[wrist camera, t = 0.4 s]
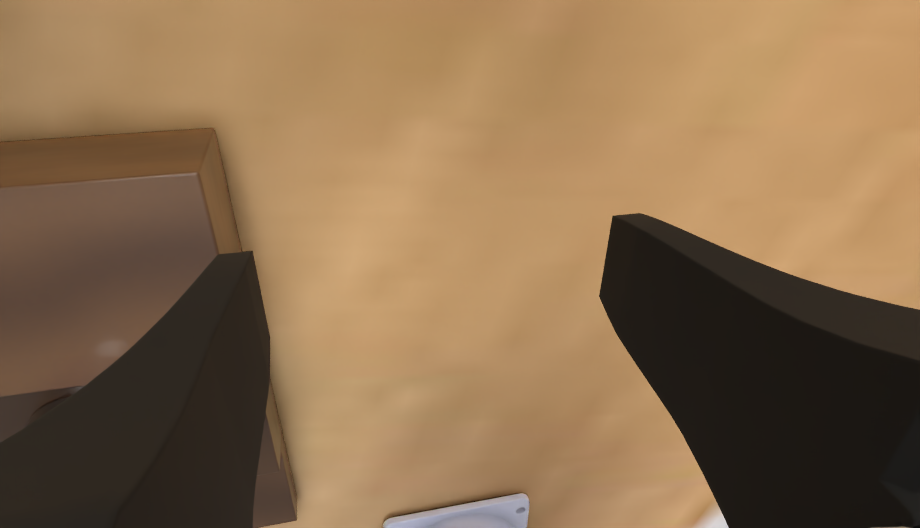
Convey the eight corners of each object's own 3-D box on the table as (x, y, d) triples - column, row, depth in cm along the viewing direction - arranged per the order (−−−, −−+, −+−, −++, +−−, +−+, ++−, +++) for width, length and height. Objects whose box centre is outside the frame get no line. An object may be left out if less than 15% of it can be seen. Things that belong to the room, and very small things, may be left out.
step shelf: (297, 499, 30) (296, 568, 27) (26, 547, 27) (-7, 629, 24) (214, 126, 19) (198, 171, 16) (-229, 156, 17) (-339, 214, 14)
